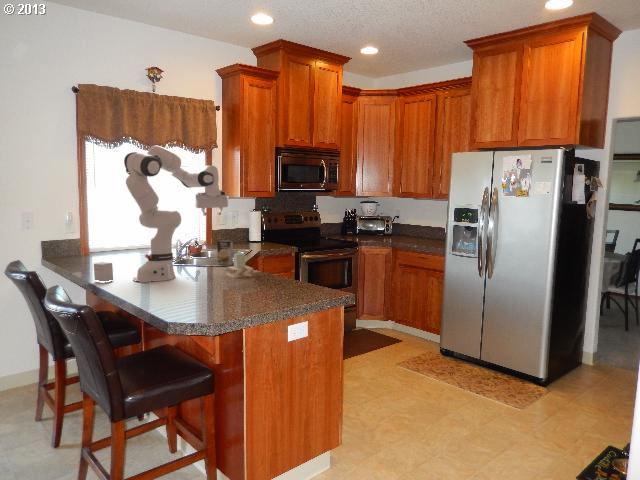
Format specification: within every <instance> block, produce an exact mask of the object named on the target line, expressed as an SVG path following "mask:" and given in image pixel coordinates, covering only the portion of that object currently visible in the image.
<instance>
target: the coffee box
mask: <svg viewBox="0 0 640 480" xmlns="http://www.w3.org/2000/svg"><path fill="white" fill-rule="evenodd" d="M216 246H217V247H216V248H217V266H233V265H234V249H233V248H234V241H233V240H223V239H222V240H217V245H216Z"/></svg>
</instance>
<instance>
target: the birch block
mask: <svg viewBox="0 0 640 480" xmlns="http://www.w3.org/2000/svg"><path fill="white" fill-rule="evenodd" d="M225 268H226V269H225V270H226V273H225V274H226V276H229V277H230V278H233V279H239V278H247V277H246V276H249V277H254V267H251V266H248V265H246V264H245V268H234V265H231V266H226V267H225ZM238 277H239V278H238Z"/></svg>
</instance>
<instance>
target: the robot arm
mask: <svg viewBox="0 0 640 480" xmlns="http://www.w3.org/2000/svg"><path fill="white" fill-rule="evenodd" d="M147 151H148V152H147V153H141V152H135V151H133V152H129V153H127V154H126V155H125V157H124V159H123V164H124V167H125V172H126V173H127V174H128V176H127V178H126V180H125V185H126V188H127V189H128V192H129V193H130V195H131V196H132V198H133V199H134V201H135V203H136V204H137V206H138V208H139V209H140V213H139V217H138V220H139V224H140V225H141V226H143V227H144V228H148V229H157V230H156V234H155V235H154V236H153V237H151V239H150V254H146V253H145V255H144V257H145V258H146V259H147V261H146V262H145V263H143V264H142V265H141V266H140V267H139V268H138V270H137V273H136V276H135V277H133V279H134V280H136V281H139V282H138V283H152V282H151V281H154V282H162V281H171V280H172V279H173V280H174V279H175V278H176V274H175V269H174V264H173V263H174V255H173V254H174V253H173V251H172V250H173V249H172V248H173V246H172V241H173V236H174V233H175V231H176V230H177V228H178V227H179V226H180V225H181V224H182V215H181V214H180V211H177V210H175V209H169V208H168V209H167V208H159V207H158V203H159V199H160V198H159V196H158V194H157V193H156V191H155V189H154V188H153V187H152V185H151V184H150V182H149V179H148V177H149V178H151V177H155V176H158V174H159V173H160V171H161V170H163V171H165V172H167V173H168V174H169V175H171V176H172V177H174V178H175V179H177V180H178V181H179V182H181V184H182V185H183V186H184V187H186V188H189V189H190V188H203V192H197V193H196V194H195V208H196V209H201V212H202V213H203V215H202V216H208V215H207V213H208V212H206V209H215V208H216V209H217V208H218V210H219V211H217V215H218V216H221V215H222V211H223V208H227V207H229V200H228V199H229V198H228V196H227V191H224V190H221V189H220V186H219V170H218V167H217V166H215V165H210V164H209V165H208V164H207V165H204V167H203V168H202V169H199V170H185V169H183V168H182V167H181V166H182V159H181V157H180V156H179V155H178V154H177V153H175V152H174V151H171V150H169V149H167V148H165V147H163V146H161V145H160V146H159V145H152V146H151V147H150V148H149V149H148V150H147ZM133 279H132V280H133ZM134 280H133V281H134ZM136 281H135V282H136Z"/></svg>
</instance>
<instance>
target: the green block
mask: <svg viewBox="0 0 640 480" xmlns="http://www.w3.org/2000/svg"><path fill="white" fill-rule="evenodd" d="M245 265H246V254H245V253H242V252H239V253H233V266H234V268H245Z"/></svg>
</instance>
